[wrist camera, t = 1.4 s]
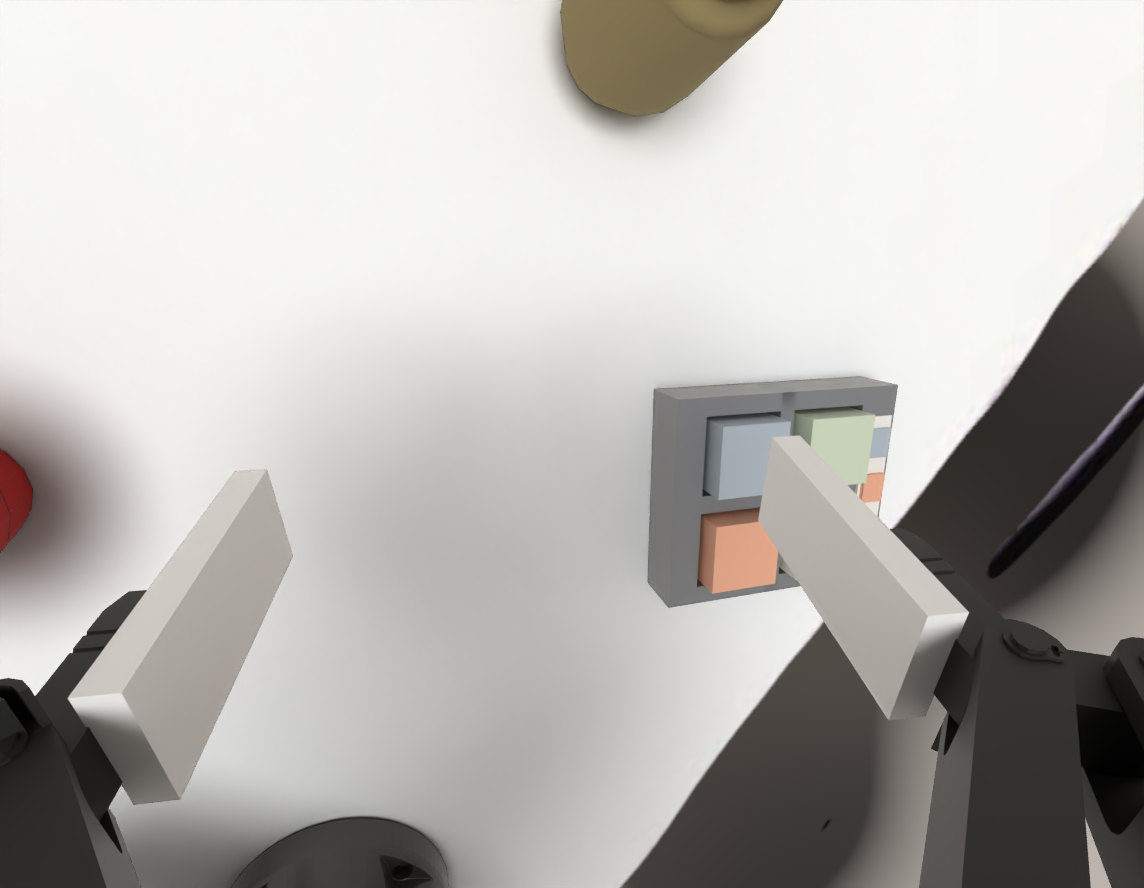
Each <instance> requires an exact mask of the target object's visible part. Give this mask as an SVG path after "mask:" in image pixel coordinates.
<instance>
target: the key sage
mask: <svg viewBox="0 0 1144 888" xmlns="http://www.w3.org/2000/svg"><path fill="white" fill-rule="evenodd" d="M874 422H875V414H871V413H868V412H864V411H861V410H858V409H854V408H851V407H847V406H844V407H831V408H817V409H804V410H795V413H794V423H793V433H792V436H799V435H800V436H801V437H802V438H803V439H804V440H805V442H806V443H807V444H808V445H809V446H810V447H811V448H812V449H813V450H814V451H815V452H816V453H817V454H818V455H819V456H820V457H821V458H822V459H823V460H824V461H825V462H826V463H827V465H828V466H829V467H830V468H831V469H832V470H833V471H834V472H835V473H836V474H837V475H838V476H839V477H840V478H841V479H842V480H843V481H844V482H845V483H846V484H847V485H853V484H861V483H866V480H867V472H868V465H869V458H870V451H871V444H872V436H873V429H874Z"/></svg>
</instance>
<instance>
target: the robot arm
mask: <svg viewBox="0 0 1144 888" xmlns="http://www.w3.org/2000/svg"><path fill="white" fill-rule="evenodd" d="M758 521H759V522H760V524H761V525H762V527H763V528H764V530H765V532H766V533H767V535H768V536H769V538H770V539H771V541H772V542H773V544H774V545H775V547H776V548H777V550H778V551H779V553H780V554H781V556H782V558H783V559H784V561H785V562H786V564H787V565H788V567H789V568H790V570H791V571H792V573H793V574H794V576H795V577H796V579H797V581H798V582H799V584H800V585H801V587H802V588H803V590H804V591H805V593H806V594H807V596H808V597H809V599H810V600H811V602H812V604H813V605H814V607H815V608H816V610H817V611H818V613H819V614H820V616H821V617H822V619H823V620H824V622H825V623H826V625H827V626H828V628H829V630H830V631H831V633H832V634H833V636H834V637H835V639H836V640H837V641H838V643H839V645H840V646H841V648H842V649H843V651H844V653H845V654H846V655H847V657H848V659H849V660H850V662H851V663H852V665H853V666H854V668H855V669H856V671H857V672H858V674H859V675H860V677H861V679H862V680H863V682H864V683H865V685H866V686H867V688H868V689H869V691H870V692H871V694H872V695H873V697H874V698H875V700H876V702H877V703H878V705H879V706H880V708H881V709H882V711H883V712H884V714H885V715H886V717H887V718H888V720H895V719H904V718H912V717H921V716H926V713H927V711H928V709H929V706H930V704H931V701H932V699H933V697H934V695H935V696H936V697H937V699H938V700H939V701H940V702H941V704H942V705H943V706H944V708H945V709H946V710H947V714H946V716H945V718H944V721H943V723H942V725H941V727H940V730H939V732H938V734H937V736H936V739H935V741H934V743H933V746H932V748H931V749H933V750H935V751H938V757H937V765H936V771H935V779H934V785H933V792H932V800H931V807H930V814H929V822H928V828H927V835H926V842H925V849H924V856H923V863H922V870H921V878H920V885H919V888H1090V874H1089V862H1088V849H1087V837H1086V824H1085V818H1086V821H1087V823H1088V826H1089V828H1090V831H1091V834H1092V837H1093V839H1094V842H1095V845H1096V847H1097V850H1098V853H1099V855H1100V858H1101V860H1102V863H1103V866H1104V868H1105V871H1106V874H1107V876H1108V879H1109V882H1110V884H1111V887H1112V888H1144V639H1143V638H1135V637H1131V638H1127V639H1123V640H1120V642H1119V643H1118V645H1117V646H1116V648H1115V649H1114V651H1113V652H1112V654H1111V656H1105V655H1099V654H1092V653H1086V652H1079V651H1073V650H1067V649H1066V648H1065V647H1064V646H1063V645H1062V644H1061V643H1060V642H1059V641H1058V640H1057V639H1056V638H1054V637H1053V636H1051V635H1050V634H1048V633H1047V632H1045V631H1044V630H1042V629H1039V628H1037V627H1035V626H1033V625H1030V624H1028V623H1025V622H1020V621H1017V620H1012V619H1004V618H1003V617H1002V616H1001V615H1000V614H999V613H998V612H997V611H996V610H995V609H994V608H993V607H992V606H991V605H990V604H989V603H988V602H987V601H986V600H985V599H984V598H983V597H982V596H981V595H980V594H979V593H978V592H977V591H976V590H975V589H974V588H972V586H971V585H970V584H969V583H967V582H966V581H965V580H964V579H963V578H962V577H961V576H960V575H959V574H958V573H955V570H954V569H953V568H952V567H951V566H950V565H949V564H948V563H947V562H946V561H945V560H942V557H941V556H940V555H939V554H938V553H937V552H936V551H935V550H934V549H933V548H932V547H931V546H930V545H929V544H928V543H927V542H926V541H924V540H923V539H921V538H919V537H917V536H916V535H914V534H912V533H911V532H909V531H907V530H905V529H904V528H897V529H889V528H888V527H887V526H886V525H885V524H884V523H883V522H882V521H881V520H880V519H879V518H878V517H877V516H876V515H875V514H874V513H873V511H872V510H871V509H870V508H869V507H868V506H867V505H866V504H865V503H864V502H863V501H862V500H861V499H860V498H859V497H858V496H857V495H856V494H855V493H854V492H853V491H852V490H851V489H850V487H849V486H848V485H847V484H846V483H845V482H844V481H843V480H842V479H841V478H840V477H839V476H838V475H837V474H836V473H835V472H834V471H833V470H832V469H831V468H830V467H829V466H828V465H827V463H826V462H825V461H824V460H823V459H822V458H821V457H820V456H819V455H818V454H817V453H816V452H815V451H814V450H813V449H812V448H811V447H810V446H809V445H808V444H807V443H806V442H805V440H804V439H803V438H802V437H801V436H800V435H799V436H783V437H772V443H771V449H770V455H769V460H768V466H767V472H766V478H765V483H764V489H763V495H762V501H761V506H760V512H759V518H758ZM292 557H293V555H292V551H291V548H290V545H289V541H288V538H287V535H286V531H285V528H284V524H283V521H282V518H281V514H280V511H279V508H278V504H277V501H276V498H275V494H274V491H273V488H272V484H271V481H270V478H269V474H268V471H267V469H263V470H247V471H235V472H234V473H233V474H232V476H231V477H230V479H229V480H228V481H227V483H226V484H225V485H224V487H223V488H222V489H221V491H220V492H219V493H218V495H217V496H216V498H215V499H214V500H213V502H212V503H211V504H210V506H209V507H208V508H207V510H206V511H205V512H204V514H203V515H202V517H201V518H200V519H199V521H198V522H197V523H196V525H195V526H194V527H193V529H192V530H191V531H190V533H189V534H188V535H187V537H186V538H185V540H184V541H183V542H182V544H181V545H180V546H179V548H178V549H177V550H176V552H175V553H174V554H173V556H172V557H171V559H170V560H169V561H168V563H167V564H166V565H165V567H164V568H163V569H162V571H161V572H160V573H159V575H158V576H157V578H156V579H155V580H154V582H153V583H152V584H151V586H150V587H149V588H148V590H143V591H130V592H128V593H126V594H125V595H124V596H122V597H121V598H120V599H118V600H117V601H116V602H114V603H113V604H112V605H110V606H109V607H108V608H106V609H105V610H104V611H103V612H102V613H101V614H100V616H99V617H98V618H97V619H96V621H95V622H94V623H93V625H92V626H91V627H90V628H89V630H88V631H87V635H86V636H83V637H82V638H81V640H80V641H79V642H78V643H77V645H76V646H75V647H74V648H73V653H70V654H69V655H68V656H67V657H66V658H65V660H64V661H63V662H62V664H61V665H60V666H59V667H58V669H57V670H56V671H55V672H54V674H53V675H52V676H51V677H50V679H49V680H48V681H47V682H46V684H45V685H44V686H43V687H42V689H41V690H40V691H39V692H38V694H37V695H36V696H34V694H33V693H32V691H31V690H30V688H29V687H28V686H27V685H26V684H25V683H24V682H23V681H22V680H17V679H10V678H6V679H0V888H141V886H140V883H139V880H138V878H137V875H136V872H135V870H134V867H133V864H132V862H131V859H130V856H129V854H128V851H127V848H126V846H125V843H124V840H123V838H122V835H121V832H120V830H119V827H118V824H117V822H116V819H115V817H114V815H113V814H112V812H111V811H110V809H109V808H108V807H109V806H110V804H111V802H112V800H113V798H114V797H115V795H116V793H117V791H118V790H119V788H120V786H121V785H122V786H123V788H124V790H125V791H126V793H127V794H128V796H129V798H130V799H131V801H132V803H133V804H134V805H135V804H144V803H153V802H162V801H171V800H180V799H181V797H182V795H183V793H184V791H185V788H186V786H187V784H188V782H189V780H190V778H191V775H192V773H193V771H194V769H195V767H196V765H197V762H198V760H199V758H200V756H201V754H202V752H203V749H204V747H205V745H206V743H207V741H208V739H209V736H210V734H211V732H212V730H213V728H214V726H215V723H216V721H217V719H218V717H219V715H220V713H221V710H222V708H223V706H224V704H225V702H226V700H227V697H228V695H229V693H230V691H231V689H232V687H233V684H234V682H235V680H236V678H237V676H238V674H239V672H240V669H241V667H242V665H243V663H244V661H245V659H246V656H247V654H248V652H249V650H250V648H251V646H252V643H253V641H254V639H255V637H256V635H257V633H258V630H259V628H260V626H261V624H262V622H263V620H264V617H265V615H266V613H267V611H268V609H269V607H270V604H271V602H272V600H273V598H274V596H275V594H276V591H277V589H278V587H279V585H280V583H281V581H282V578H283V576H284V574H285V572H286V570H287V568H288V566H289V563H290V561H291V559H292ZM231 888H448V876H447V870H446V866H445V863H444V861H443V859H442V856H441V855H440V853H439V851H438V850H437V849H436V847H435V846H434V845H433V844H432V843H431V842H430V841H429V840H428V839H427V838H425V837H424V836H423V835H421V834H420V833H418V832H416V831H415V830H413V829H411V828H409V827H406V826H404V825H401V824H398V823H394V822H390V821H385V820H378V819H346V820H339V821H333V822H328V823H324V824H320V825H317V826H314V827H311V828H308V829H305V830H302V831H300V832H298V833H295V834H293V835H291V836H289V837H287V838H285V839H283V840H281V841H280V842H278V843H276V844H275V845H273V846H272V847H270V848H269V849H267V850H266V851H265V852H263V853H262V854H261V855H259V856H258V857H257V858H256V859H255V860H254V861H253V862H252V863H250V864H249V865H248V866H247V868H246V869H245V870H244V871H243V872H242V873H241V874H240V876H239V877H238V878H237V880H236V881H235V883H234V884H233V886H232V887H231Z"/></svg>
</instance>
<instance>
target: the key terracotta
mask: <svg viewBox="0 0 1144 888" xmlns="http://www.w3.org/2000/svg"><path fill="white" fill-rule="evenodd" d="M759 512H760V507H757V508H749V509H741V510H732V511H724V512H716V513H708V514H701V525H700V542H699V559H698V576H697V579H698V580H699V581H700V582H701V583H702V584H703V585H704V586H705V587H706V588H707V589H708V590H709V591H710V592H711V593H712V594H713V593H720V592H726V591H732V590H738V589H744V588H750V587H757V586H763V585H769V584H775V579H776V569H777V559H778V550H777V548H776V547H775V545H774V544H773V542H772V541H771V539H770V538H769V536H768V535H767V533H766V532H765V530H764V528H763V527H762V525H761V524H760V522H759V521H758V518H759Z"/></svg>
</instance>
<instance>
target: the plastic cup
mask: <svg viewBox="0 0 1144 888" xmlns="http://www.w3.org/2000/svg"><path fill="white" fill-rule="evenodd" d="M32 493H33V489H32V487H31V484H30V482H29V480H28V477H27V475H26V473H25V470H24V469H23V468H22V467H21V466H20V465H19V464H18V463H17V462H16V461H15V460H14V459H13V458H11V457H10V456H9V455H8V454H7V453H6V452H4V451H2V450H0V552H1V551H2V550H3V548H4V547H5V546H6V545H7V544H8V543H9V541H10V540H11V539H12V538H13V537H14V536H15V535H16V533H17V532H18V530H19V529H20V528H21V526H22V525H23V523H24V522H25V520H26V519H27V517H28V516H29V512H30V510H31V505H32Z"/></svg>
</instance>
